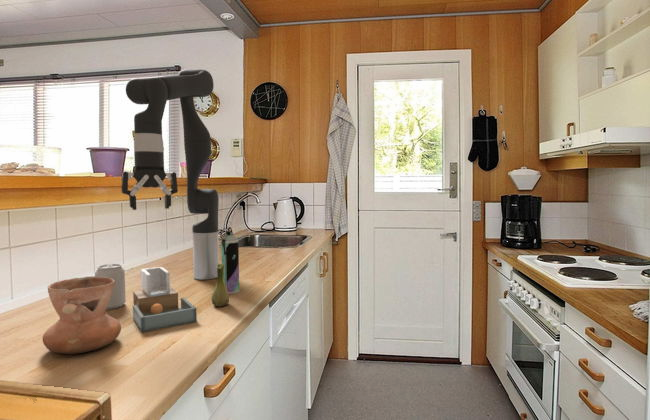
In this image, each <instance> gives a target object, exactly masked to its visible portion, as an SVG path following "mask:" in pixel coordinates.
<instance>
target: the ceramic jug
mask: <svg viewBox="0 0 650 420" xmlns="http://www.w3.org/2000/svg"><path fill="white" fill-rule="evenodd" d="M114 282H115V281H114V280H113V279H111V278H107V277H96V276H95V275H94V276H92V275H91V276H84V277H83V276H81V277H73V278H70V279H69V278H66V279H63V280H59V281H56V282H53V283H50V284H49V285H48V286H47V293H48V297H49V299H50V302H51V304H52V306H53V308H54V310H55V312H56V314H57V315H58V317H59V319H58V320H57V321H56V322H55V323H53V324H52V325H50V326H49V327H48V328H47V329H46V330H45V332H44V333H43V336H42V343H43V345H44V346H45V348H46V349H47V350H48V351H51V352H52V353H55V354H62V355H76V354H83V353H88V352H92V351H96V350H99V349H101V348H103V347H105V346H108V345H110V344H111V343H112V342H114V341H115V340H117V338H118V337H119V335H120V333H121V331H122V325H121V323H120V321H119V320H118V319H116V318H114V317H112V316H110V315H109V314H107V313H106V308H107V306H108V303H109V301H110V298H111V295H112V292H113V288H114Z"/></svg>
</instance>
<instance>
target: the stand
mask: <svg viewBox="0 0 650 420" xmlns="http://www.w3.org/2000/svg"><path fill="white" fill-rule="evenodd" d="M132 291H133V292H132V296H133V298H132V299H133V305H137V307H138V308H139V310H140V311H141V313H142V314H149V313H151V307H152V306H153V305H154V304H161V305H162V307H163V311H166V310H172V309H177V308H179V293H178V291H177V290H176V289H174V288H173V287H172V286H171V285H170V294H166V295H160V296H153V297H147V295H146V294H145V293H144V292H143V291H142V289H138V290H132Z"/></svg>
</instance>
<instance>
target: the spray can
mask: <svg viewBox="0 0 650 420" xmlns="http://www.w3.org/2000/svg"><path fill="white" fill-rule="evenodd" d="M224 235H225V236H223V237H221V241H220V247H221V249H220V251H221V253H220V255H221V257H220V258H221V260H220V261H221V264H223V267H224V271H223V279H224V283H225V285H226V288H227V290H228V294H229V295H235V294H238V293H240V257H239V256H240V254H239V252H240V251H239V248H240V247H239V238H238V237H237V236H235V234H234V233H233V230H228V231H226V233H225V234H224Z"/></svg>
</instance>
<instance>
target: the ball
mask: <svg viewBox="0 0 650 420" xmlns="http://www.w3.org/2000/svg"><path fill="white" fill-rule="evenodd" d="M162 311H163V307H162V305H161V304H154V305H153V306H152V307H151V313H152V314H153V315H155V314H161V313H162Z"/></svg>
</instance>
